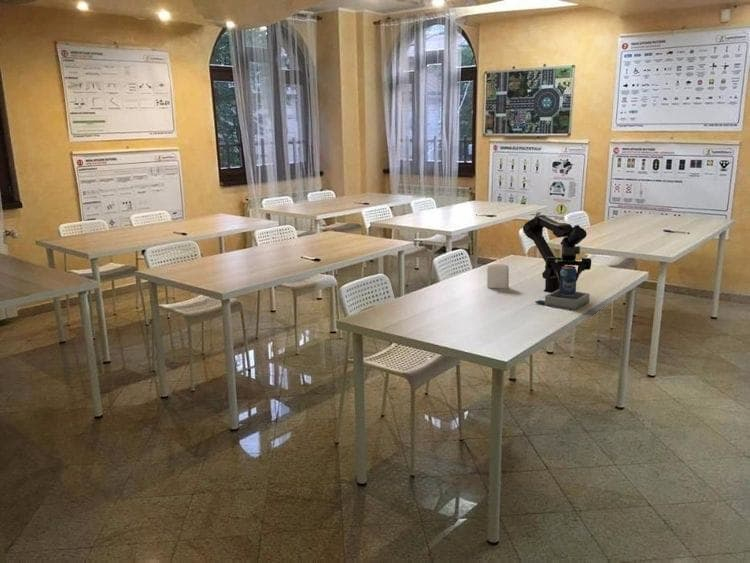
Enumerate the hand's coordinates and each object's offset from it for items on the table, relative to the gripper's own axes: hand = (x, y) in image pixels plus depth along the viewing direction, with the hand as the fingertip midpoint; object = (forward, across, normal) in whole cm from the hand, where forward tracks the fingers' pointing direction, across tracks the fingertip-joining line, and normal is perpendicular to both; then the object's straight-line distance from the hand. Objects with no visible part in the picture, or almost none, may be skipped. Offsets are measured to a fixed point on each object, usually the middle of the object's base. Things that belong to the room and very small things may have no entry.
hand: (568, 280), depth 272 cm
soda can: (+4, 0, +6) cm, 7 cm away
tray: (+7, 0, +9) cm, 11 cm away
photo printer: (-8, -31, +25) cm, 41 cm away
